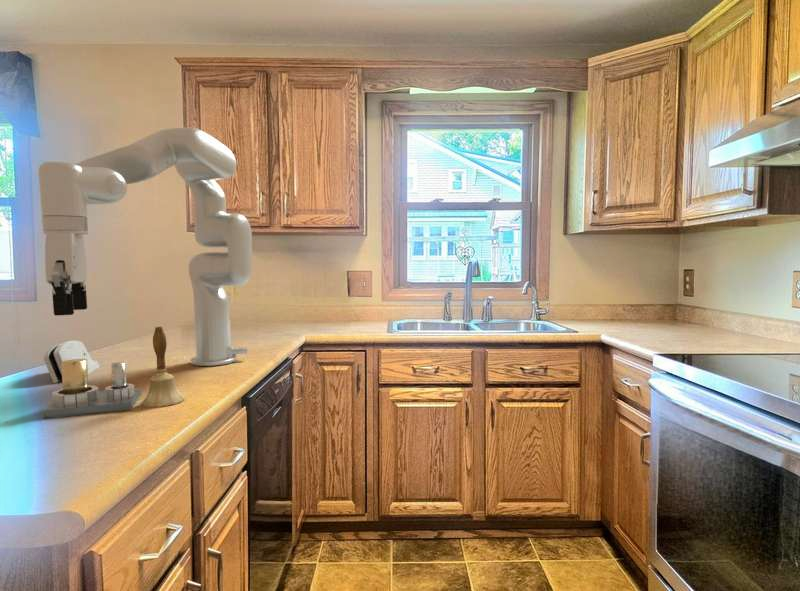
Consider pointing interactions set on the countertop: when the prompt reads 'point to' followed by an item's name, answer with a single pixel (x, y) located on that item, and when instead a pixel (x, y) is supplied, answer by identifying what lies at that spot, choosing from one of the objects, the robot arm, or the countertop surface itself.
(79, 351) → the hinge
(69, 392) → the brass nipple
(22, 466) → the countertop surface
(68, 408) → the plate
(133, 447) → the countertop surface
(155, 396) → the hand bell
